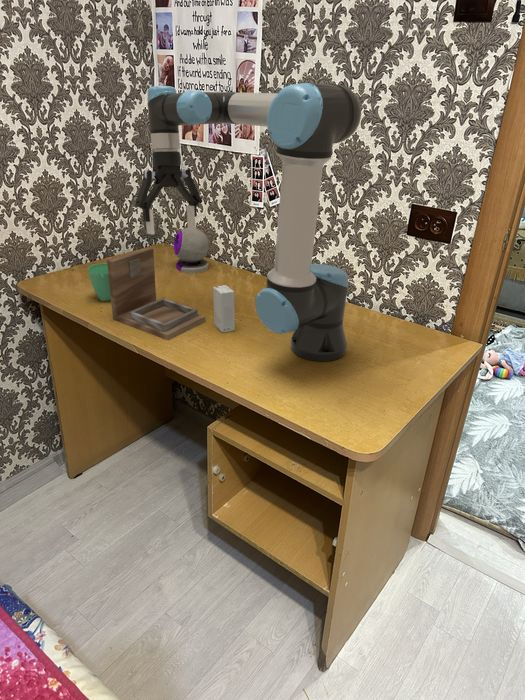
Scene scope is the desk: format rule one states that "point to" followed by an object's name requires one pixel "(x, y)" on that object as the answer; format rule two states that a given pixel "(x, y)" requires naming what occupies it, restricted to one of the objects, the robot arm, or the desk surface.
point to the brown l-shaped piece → (145, 298)
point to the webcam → (191, 250)
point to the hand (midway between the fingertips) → (171, 231)
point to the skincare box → (224, 308)
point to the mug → (100, 280)
